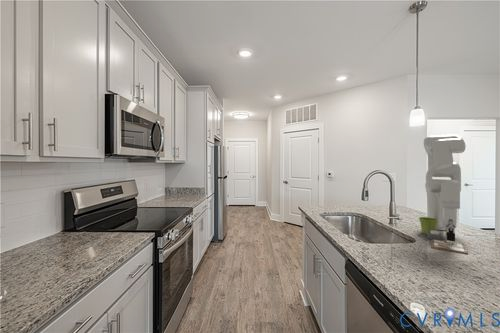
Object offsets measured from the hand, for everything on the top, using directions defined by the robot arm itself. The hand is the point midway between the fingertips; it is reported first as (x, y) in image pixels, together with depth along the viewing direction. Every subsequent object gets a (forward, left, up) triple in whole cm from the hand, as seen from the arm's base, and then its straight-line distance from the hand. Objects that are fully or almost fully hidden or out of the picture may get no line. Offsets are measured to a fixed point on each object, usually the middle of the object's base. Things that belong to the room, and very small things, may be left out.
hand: (450, 238), depth 116 cm
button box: (-9, -6, -3) cm, 11 cm away
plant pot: (-19, -9, -4) cm, 21 cm away
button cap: (-9, -6, -2) cm, 11 cm away
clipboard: (+3, -1, -3) cm, 5 cm away
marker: (0, 0, -3) cm, 3 cm away
